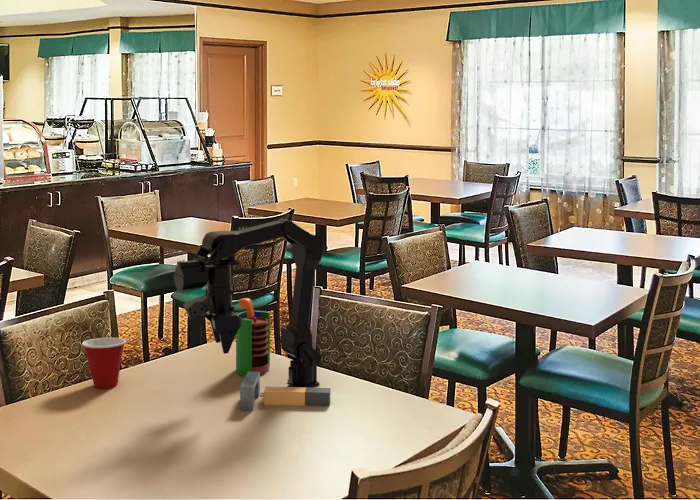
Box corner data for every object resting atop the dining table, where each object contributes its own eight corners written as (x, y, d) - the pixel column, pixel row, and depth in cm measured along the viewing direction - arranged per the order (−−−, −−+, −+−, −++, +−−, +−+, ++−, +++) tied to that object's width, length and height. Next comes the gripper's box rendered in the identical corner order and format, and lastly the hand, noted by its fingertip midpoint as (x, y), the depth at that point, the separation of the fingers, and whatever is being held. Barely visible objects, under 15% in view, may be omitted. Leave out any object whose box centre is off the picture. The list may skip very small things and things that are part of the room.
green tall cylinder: (262, 377, 210) (261, 304, 206) (230, 375, 211) (229, 303, 208) (273, 365, 220) (273, 296, 216) (243, 363, 221) (242, 294, 218)
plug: (330, 401, 193) (330, 387, 193) (329, 406, 190) (329, 392, 189) (261, 399, 194) (261, 386, 193) (259, 404, 190) (259, 391, 190)
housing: (260, 393, 198) (259, 371, 197) (253, 410, 187) (252, 387, 186) (248, 393, 198) (247, 371, 197) (240, 410, 187) (240, 387, 186)
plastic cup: (131, 377, 209) (129, 334, 207) (123, 391, 198) (121, 346, 196) (89, 378, 208) (87, 334, 206) (79, 392, 197) (77, 346, 195)
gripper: (179, 279, 193) (182, 340, 196) (191, 296, 176) (195, 363, 179) (223, 276, 197) (226, 335, 200) (240, 292, 180) (243, 357, 182)
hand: (221, 347), depth 190 cm, fingers open, 9 cm apart
